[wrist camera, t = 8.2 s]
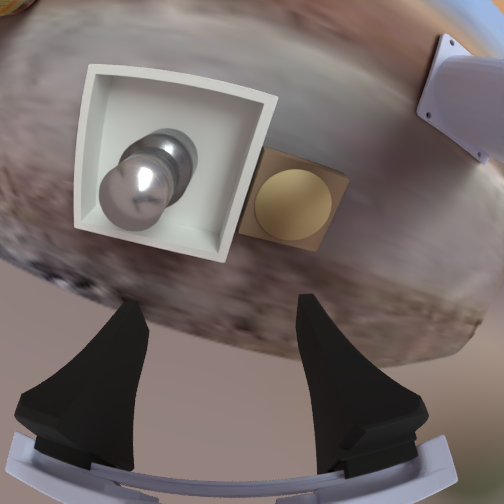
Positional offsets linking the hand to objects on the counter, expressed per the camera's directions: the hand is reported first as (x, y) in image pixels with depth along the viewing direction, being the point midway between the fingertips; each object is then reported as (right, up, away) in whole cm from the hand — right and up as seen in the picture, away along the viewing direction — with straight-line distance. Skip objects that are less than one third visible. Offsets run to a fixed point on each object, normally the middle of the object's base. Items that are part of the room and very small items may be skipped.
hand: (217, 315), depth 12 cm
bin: (-4, +9, +5) cm, 12 cm away
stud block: (+4, +7, +8) cm, 11 cm away
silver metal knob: (-4, +9, +5) cm, 11 cm away
